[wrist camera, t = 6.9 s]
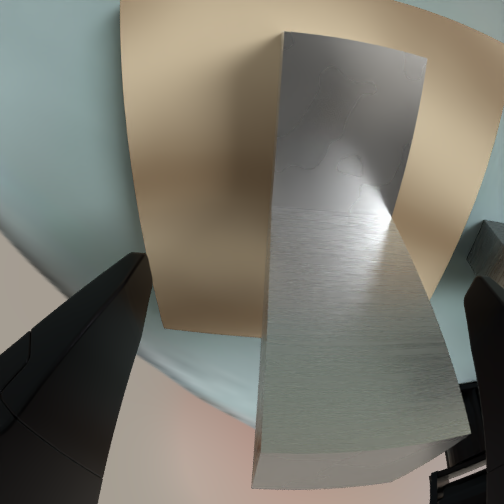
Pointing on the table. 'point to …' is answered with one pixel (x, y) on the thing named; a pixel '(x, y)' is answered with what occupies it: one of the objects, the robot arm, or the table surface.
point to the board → (263, 135)
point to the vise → (489, 252)
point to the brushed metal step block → (346, 280)
